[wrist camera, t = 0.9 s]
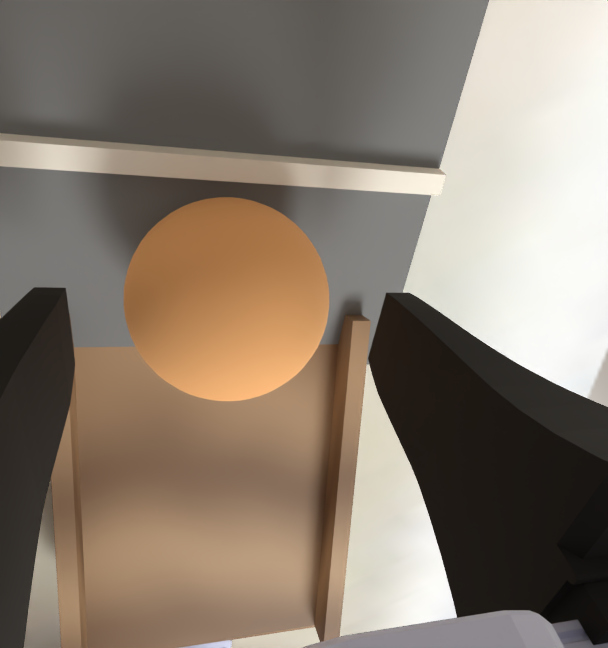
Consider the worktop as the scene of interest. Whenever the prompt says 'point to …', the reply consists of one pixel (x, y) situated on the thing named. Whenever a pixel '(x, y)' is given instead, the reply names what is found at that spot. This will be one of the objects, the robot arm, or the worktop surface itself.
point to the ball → (226, 299)
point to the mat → (222, 135)
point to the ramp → (205, 502)
